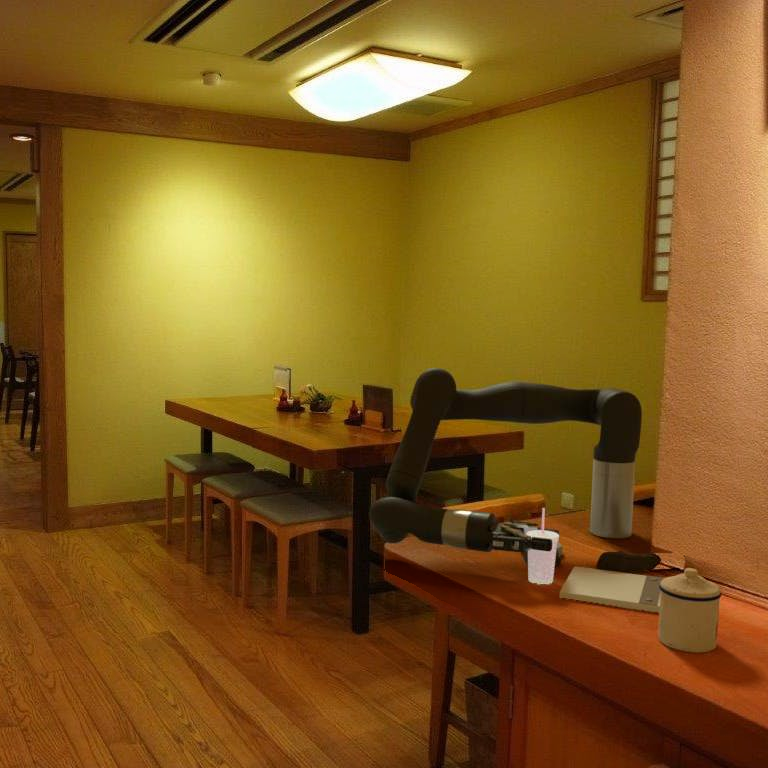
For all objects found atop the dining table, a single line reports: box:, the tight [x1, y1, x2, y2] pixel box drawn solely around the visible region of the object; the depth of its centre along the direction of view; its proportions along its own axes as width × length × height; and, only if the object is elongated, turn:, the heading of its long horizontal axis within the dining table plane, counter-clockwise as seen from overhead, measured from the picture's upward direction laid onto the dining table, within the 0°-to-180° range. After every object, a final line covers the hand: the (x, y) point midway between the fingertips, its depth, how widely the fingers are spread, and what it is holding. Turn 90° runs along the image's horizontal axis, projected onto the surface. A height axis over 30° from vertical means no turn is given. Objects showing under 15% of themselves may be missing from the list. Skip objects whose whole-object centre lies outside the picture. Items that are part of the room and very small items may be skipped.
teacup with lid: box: [657, 567, 722, 654], centre depth 131 cm, size 12×9×12 cm
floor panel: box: [559, 565, 666, 614], centre depth 152 cm, size 16×24×2 cm, turn 68°
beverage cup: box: [526, 507, 560, 585], centre depth 158 cm, size 6×6×14 cm
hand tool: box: [595, 550, 661, 573], centre depth 165 cm, size 19×4×5 cm, turn 103°
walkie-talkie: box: [520, 540, 563, 566], centre depth 177 cm, size 9×4×20 cm
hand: (555, 540), depth 157 cm, fingers closed on beverage cup, 6 cm apart
